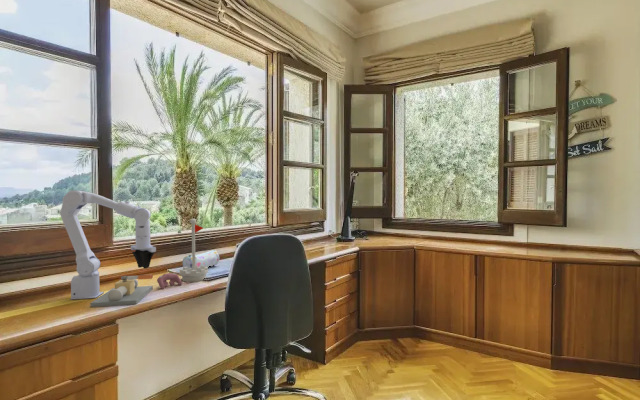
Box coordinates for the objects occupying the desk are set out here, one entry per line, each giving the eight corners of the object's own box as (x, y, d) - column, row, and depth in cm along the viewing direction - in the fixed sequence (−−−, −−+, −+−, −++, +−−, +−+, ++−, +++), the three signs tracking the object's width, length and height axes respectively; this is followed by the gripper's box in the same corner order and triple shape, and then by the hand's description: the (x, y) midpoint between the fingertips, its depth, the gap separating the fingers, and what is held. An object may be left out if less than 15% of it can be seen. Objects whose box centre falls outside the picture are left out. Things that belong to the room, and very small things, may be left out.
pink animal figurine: (178, 287, 167) (175, 272, 169) (183, 284, 164) (179, 269, 166) (158, 291, 159) (154, 276, 161) (162, 288, 157) (158, 273, 158)
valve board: (90, 307, 133) (90, 288, 133) (113, 291, 155) (113, 275, 155) (136, 304, 136) (136, 286, 136) (152, 289, 158) (152, 273, 157)
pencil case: (191, 273, 189) (191, 255, 189) (180, 271, 193) (180, 254, 193) (220, 266, 207) (220, 250, 207) (210, 264, 211) (209, 249, 211)
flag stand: (185, 283, 167) (183, 219, 166) (176, 278, 177) (175, 218, 177) (212, 279, 175) (211, 218, 175) (202, 274, 185) (201, 217, 185)
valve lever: (120, 280, 145) (120, 276, 145) (122, 279, 147) (122, 275, 147) (151, 278, 147) (151, 275, 147) (152, 277, 149) (152, 273, 149)
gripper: (162, 236, 153) (162, 267, 153) (141, 234, 160) (141, 264, 161) (147, 237, 147) (147, 270, 147) (126, 236, 154) (126, 267, 154)
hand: (143, 267), depth 154 cm, fingers open, 3 cm apart
